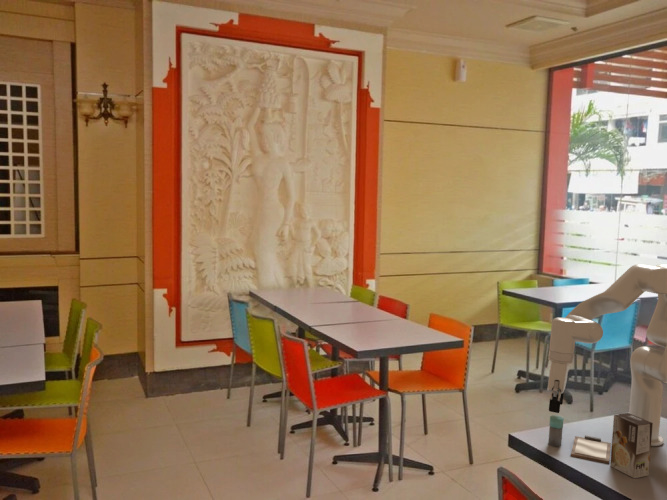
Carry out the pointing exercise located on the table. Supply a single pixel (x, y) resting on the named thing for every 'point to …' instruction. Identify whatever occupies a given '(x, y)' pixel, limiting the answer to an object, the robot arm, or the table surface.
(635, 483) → the table surface
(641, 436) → the coffee box
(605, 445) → the clipboard
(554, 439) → the teal capped cylinder
